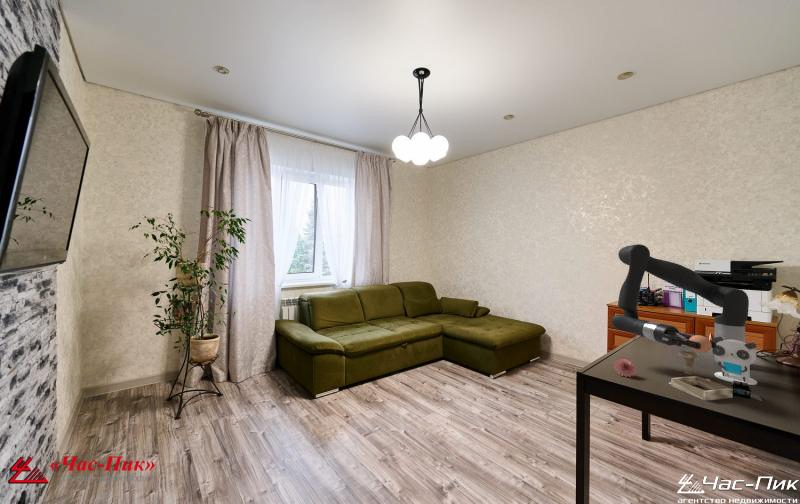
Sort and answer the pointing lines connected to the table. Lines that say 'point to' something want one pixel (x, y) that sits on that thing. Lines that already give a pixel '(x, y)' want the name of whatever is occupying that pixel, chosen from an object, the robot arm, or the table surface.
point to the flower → (625, 367)
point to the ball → (703, 341)
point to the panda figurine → (734, 360)
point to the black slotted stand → (743, 394)
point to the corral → (712, 394)
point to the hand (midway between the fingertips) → (707, 345)
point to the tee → (689, 361)
